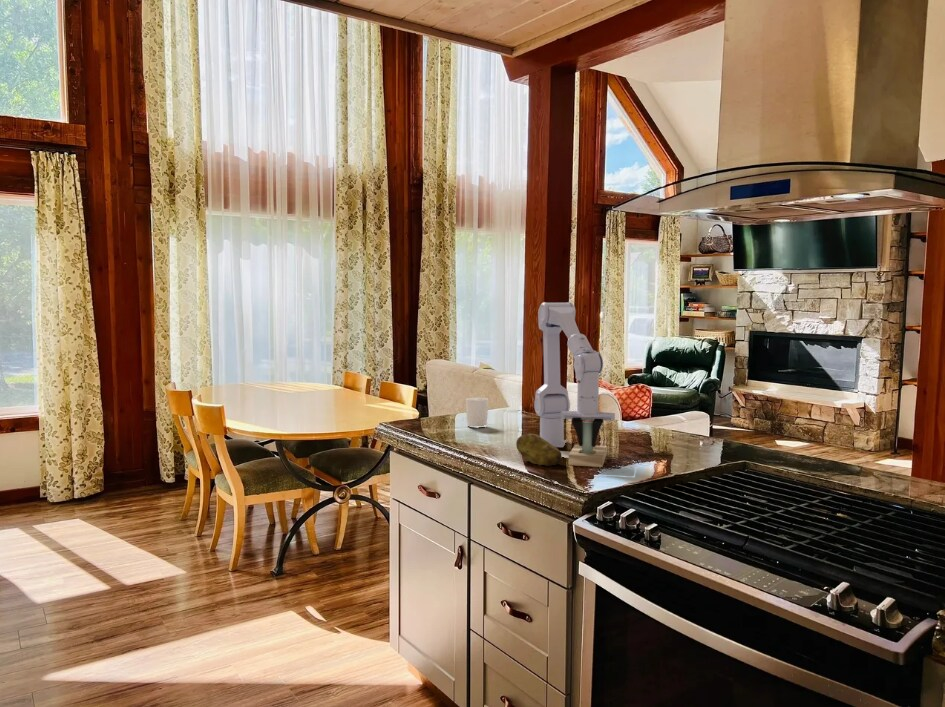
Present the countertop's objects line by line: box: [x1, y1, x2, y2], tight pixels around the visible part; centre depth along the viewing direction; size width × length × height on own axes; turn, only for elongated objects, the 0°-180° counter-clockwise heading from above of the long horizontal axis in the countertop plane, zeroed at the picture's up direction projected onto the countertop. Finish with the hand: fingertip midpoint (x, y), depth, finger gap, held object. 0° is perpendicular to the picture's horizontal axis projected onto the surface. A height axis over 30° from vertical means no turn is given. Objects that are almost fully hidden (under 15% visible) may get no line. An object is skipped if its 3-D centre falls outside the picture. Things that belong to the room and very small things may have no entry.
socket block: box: [568, 444, 607, 468], centre depth 198 cm, size 14×9×3 cm, turn 165°
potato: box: [515, 432, 563, 467], centre depth 194 cm, size 8×13×8 cm, turn 36°
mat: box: [559, 450, 571, 459], centre depth 205 cm, size 8×6×1 cm
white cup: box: [465, 396, 489, 427], centre depth 250 cm, size 8×8×10 cm
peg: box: [582, 421, 593, 454], centre depth 195 cm, size 3×3×10 cm
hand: (587, 445), depth 195 cm, fingers closed on peg, 3 cm apart
